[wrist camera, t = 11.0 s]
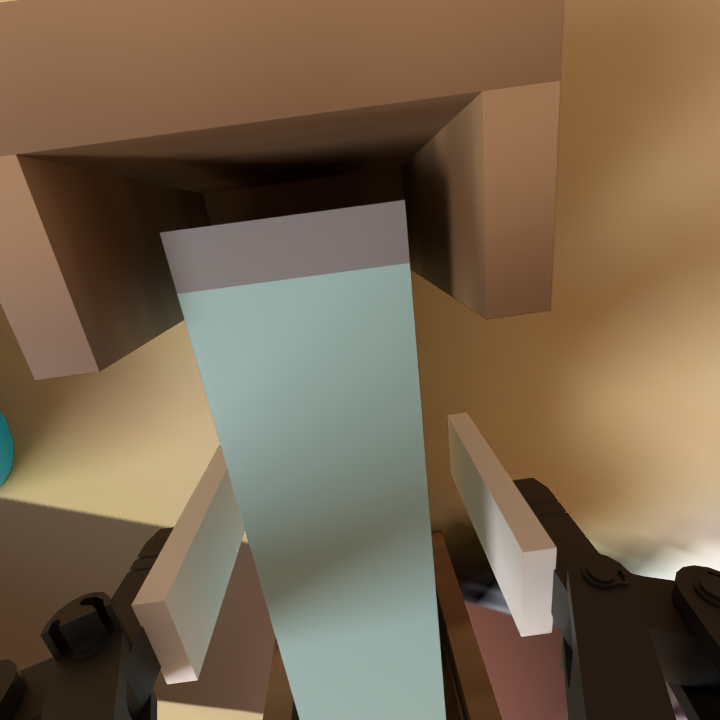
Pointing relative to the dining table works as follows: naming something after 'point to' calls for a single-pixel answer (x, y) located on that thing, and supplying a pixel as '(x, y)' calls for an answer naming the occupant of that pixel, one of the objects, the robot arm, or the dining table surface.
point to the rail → (324, 445)
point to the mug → (5, 450)
